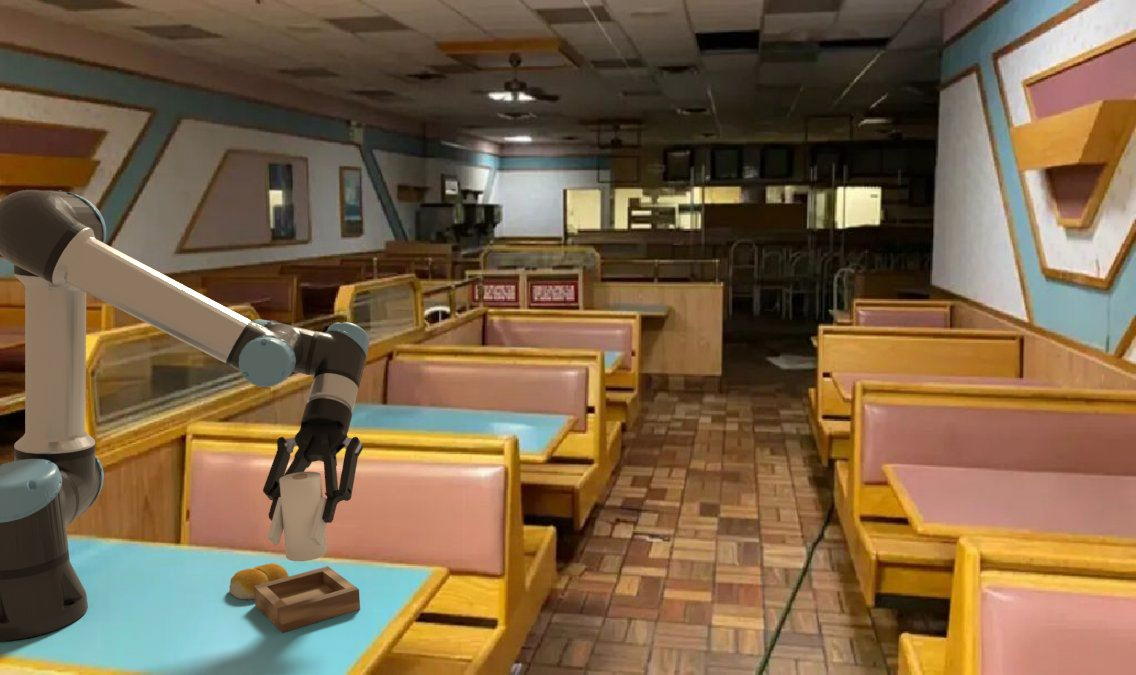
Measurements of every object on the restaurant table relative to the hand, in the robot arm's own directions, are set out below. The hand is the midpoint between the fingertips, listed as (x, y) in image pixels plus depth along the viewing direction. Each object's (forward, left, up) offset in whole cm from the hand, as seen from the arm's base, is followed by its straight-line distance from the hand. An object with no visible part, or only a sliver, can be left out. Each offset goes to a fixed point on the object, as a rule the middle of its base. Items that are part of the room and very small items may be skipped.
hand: (294, 541), depth 137 cm
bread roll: (-15, -1, -12) cm, 19 cm away
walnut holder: (-3, +2, -12) cm, 12 cm away
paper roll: (-3, +3, -3) cm, 5 cm away
